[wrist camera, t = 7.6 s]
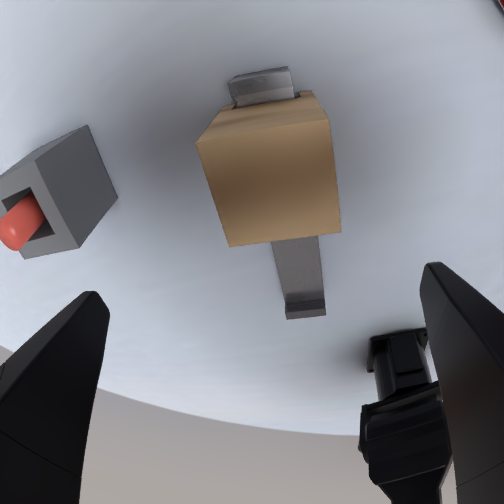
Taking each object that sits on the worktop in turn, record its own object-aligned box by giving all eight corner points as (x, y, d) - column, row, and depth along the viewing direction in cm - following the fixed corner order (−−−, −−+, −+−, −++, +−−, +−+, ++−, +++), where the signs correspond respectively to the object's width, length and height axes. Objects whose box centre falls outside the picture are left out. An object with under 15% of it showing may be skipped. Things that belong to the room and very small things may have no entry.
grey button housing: (118, 198, 22) (79, 248, 17) (61, 214, 23) (22, 259, 18) (87, 124, 18) (34, 160, 13) (31, 152, 19) (-18, 189, 15)
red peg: (60, 210, 18) (27, 248, 15) (41, 216, 18) (8, 252, 15) (46, 181, 16) (9, 216, 13) (27, 190, 17) (-9, 224, 14)
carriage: (324, 169, 19) (341, 232, 13) (244, 181, 20) (229, 247, 14) (311, 90, 16) (328, 119, 10) (223, 106, 17) (195, 143, 11)
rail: (323, 287, 25) (326, 315, 23) (286, 291, 26) (286, 319, 24) (287, 66, 15) (289, 70, 13) (235, 76, 16) (227, 83, 14)
